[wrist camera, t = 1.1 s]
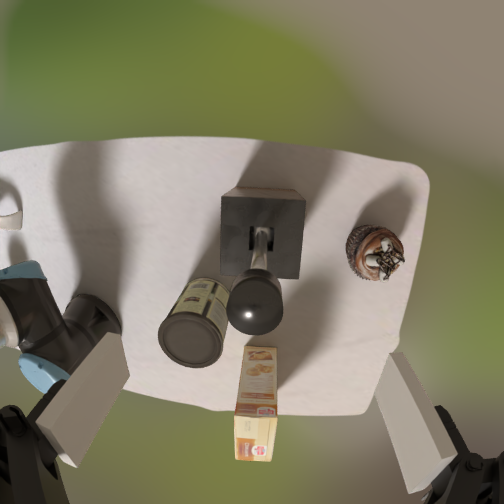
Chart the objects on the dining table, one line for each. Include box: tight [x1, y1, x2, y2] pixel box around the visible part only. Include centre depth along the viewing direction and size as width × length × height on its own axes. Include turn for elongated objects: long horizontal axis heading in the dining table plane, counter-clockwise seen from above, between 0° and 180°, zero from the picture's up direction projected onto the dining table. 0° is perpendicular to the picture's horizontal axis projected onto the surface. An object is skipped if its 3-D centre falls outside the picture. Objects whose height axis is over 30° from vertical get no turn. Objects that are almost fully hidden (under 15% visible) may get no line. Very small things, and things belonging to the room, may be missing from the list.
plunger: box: [226, 226, 283, 335], centre depth 28 cm, size 7×7×20 cm
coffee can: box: [158, 278, 230, 368], centre depth 48 cm, size 10×10×14 cm
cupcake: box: [346, 225, 405, 283], centre depth 45 cm, size 10×10×10 cm
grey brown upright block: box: [220, 187, 306, 279], centre depth 42 cm, size 10×10×15 cm
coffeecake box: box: [234, 346, 278, 461], centre depth 50 cm, size 15×7×20 cm, turn 178°
